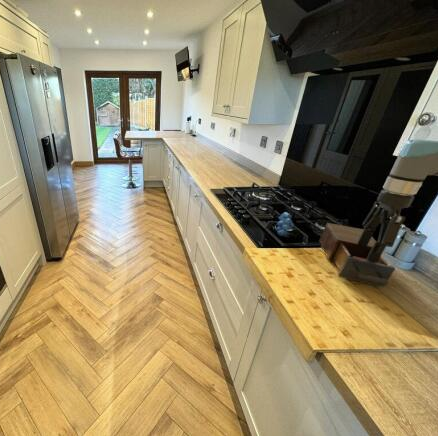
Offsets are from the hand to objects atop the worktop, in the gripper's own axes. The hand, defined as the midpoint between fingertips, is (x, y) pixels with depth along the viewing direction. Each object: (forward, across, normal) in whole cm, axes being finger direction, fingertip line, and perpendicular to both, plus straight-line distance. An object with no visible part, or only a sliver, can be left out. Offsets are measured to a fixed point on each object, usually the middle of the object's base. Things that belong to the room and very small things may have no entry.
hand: (366, 253), depth 82 cm
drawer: (+8, -1, +1) cm, 8 cm away
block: (+7, -2, +1) cm, 7 cm away
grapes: (+9, +19, +23) cm, 31 cm away
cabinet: (+9, +13, +1) cm, 16 cm away
